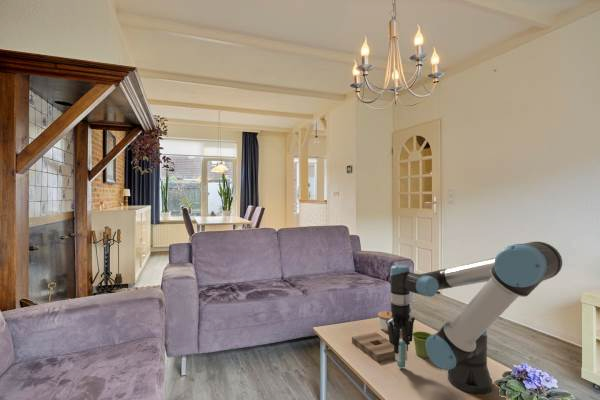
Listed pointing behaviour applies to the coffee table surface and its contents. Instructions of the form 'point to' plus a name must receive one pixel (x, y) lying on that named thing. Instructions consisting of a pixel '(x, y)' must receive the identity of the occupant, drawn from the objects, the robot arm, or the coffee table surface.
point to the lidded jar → (384, 319)
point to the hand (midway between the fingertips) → (401, 359)
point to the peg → (402, 354)
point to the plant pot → (421, 343)
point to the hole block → (374, 346)
